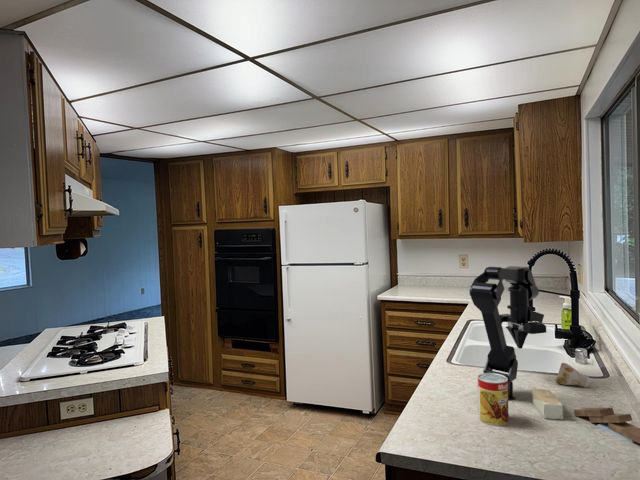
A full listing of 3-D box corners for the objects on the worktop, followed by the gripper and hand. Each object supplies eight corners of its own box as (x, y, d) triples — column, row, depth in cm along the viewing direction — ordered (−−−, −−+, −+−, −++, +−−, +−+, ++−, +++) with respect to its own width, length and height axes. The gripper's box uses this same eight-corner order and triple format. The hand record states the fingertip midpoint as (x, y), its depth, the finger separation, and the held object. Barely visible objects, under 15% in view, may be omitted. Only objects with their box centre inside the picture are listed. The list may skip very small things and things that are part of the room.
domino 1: (587, 413, 124) (614, 413, 116) (575, 416, 123) (601, 416, 115) (586, 407, 124) (612, 407, 116) (573, 410, 123) (599, 409, 115)
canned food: (509, 427, 118) (508, 383, 117) (478, 423, 120) (477, 381, 120) (507, 415, 125) (506, 374, 124) (478, 412, 128) (477, 371, 127)
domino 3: (609, 427, 117) (644, 442, 109) (597, 430, 116) (632, 446, 107) (609, 421, 117) (644, 436, 109) (597, 424, 116) (632, 439, 107)
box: (550, 389, 131) (564, 404, 120) (550, 403, 132) (564, 420, 121) (531, 389, 132) (544, 404, 121) (531, 403, 132) (544, 419, 121)
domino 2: (602, 420, 120) (632, 420, 112) (590, 422, 118) (619, 422, 110) (600, 414, 120) (630, 413, 112) (588, 416, 119) (617, 415, 111)
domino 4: (622, 426, 114) (655, 441, 106) (608, 428, 113) (640, 443, 105) (622, 420, 114) (655, 434, 106) (608, 422, 113) (640, 437, 105)
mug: (593, 392, 140) (575, 365, 140) (563, 398, 146) (546, 373, 146) (595, 379, 145) (578, 354, 146) (566, 386, 152) (550, 361, 152)
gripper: (560, 305, 141) (560, 353, 142) (520, 297, 159) (521, 339, 160) (530, 308, 139) (531, 356, 139) (494, 299, 157) (494, 342, 157)
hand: (520, 348), depth 149 cm, fingers closed
